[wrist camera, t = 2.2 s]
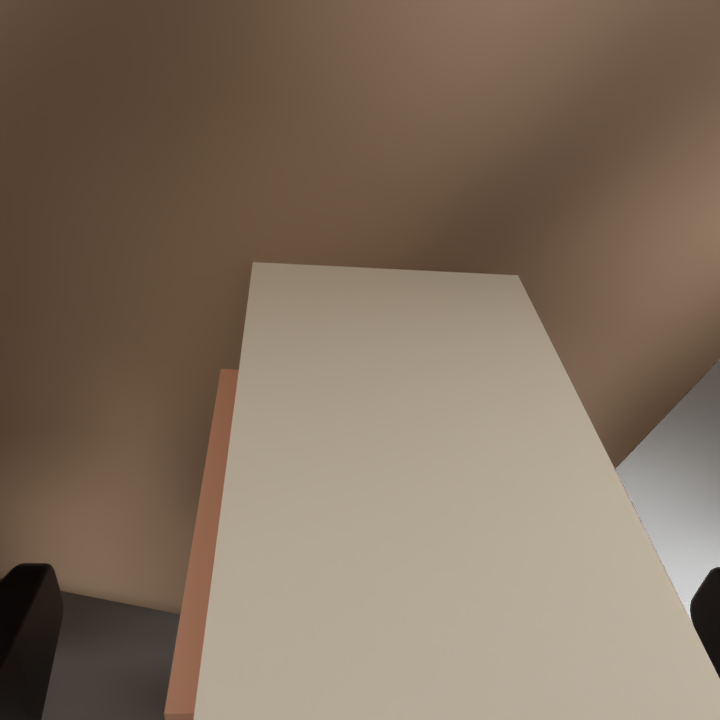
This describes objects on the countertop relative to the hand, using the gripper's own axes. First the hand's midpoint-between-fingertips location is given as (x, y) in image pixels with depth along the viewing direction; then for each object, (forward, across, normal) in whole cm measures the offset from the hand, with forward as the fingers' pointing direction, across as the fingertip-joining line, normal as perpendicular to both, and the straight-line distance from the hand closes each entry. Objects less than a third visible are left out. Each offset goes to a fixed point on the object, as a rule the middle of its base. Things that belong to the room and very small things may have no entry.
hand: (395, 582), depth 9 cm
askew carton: (+3, 0, 0) cm, 3 cm away
